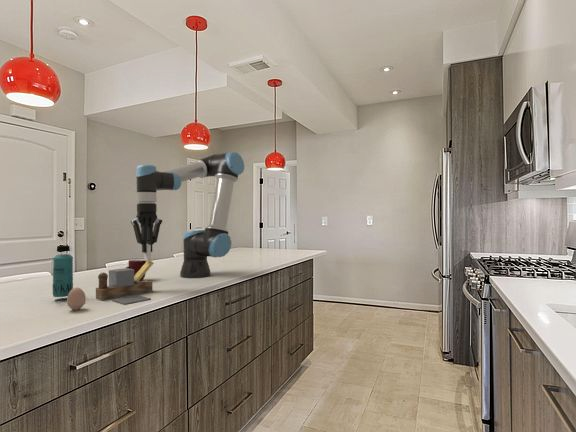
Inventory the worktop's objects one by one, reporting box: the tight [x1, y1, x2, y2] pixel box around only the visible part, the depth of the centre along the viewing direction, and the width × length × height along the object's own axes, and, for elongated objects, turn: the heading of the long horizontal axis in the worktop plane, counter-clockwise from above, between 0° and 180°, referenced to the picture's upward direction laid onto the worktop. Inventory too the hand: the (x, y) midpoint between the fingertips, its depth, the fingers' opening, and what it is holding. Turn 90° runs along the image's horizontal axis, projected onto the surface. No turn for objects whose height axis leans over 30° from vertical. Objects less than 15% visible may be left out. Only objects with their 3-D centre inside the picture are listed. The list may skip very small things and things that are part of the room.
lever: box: [134, 260, 154, 284], centre depth 145 cm, size 1×4×11 cm
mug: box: [125, 258, 147, 282], centre depth 168 cm, size 10×8×10 cm
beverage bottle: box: [52, 244, 74, 298], centre depth 133 cm, size 6×7×20 cm
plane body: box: [95, 272, 153, 301], centre depth 140 cm, size 20×5×10 cm, turn 141°
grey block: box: [108, 267, 134, 288], centre depth 139 cm, size 7×6×6 cm
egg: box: [66, 287, 87, 311], centre depth 118 cm, size 5×5×7 cm
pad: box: [111, 294, 151, 306], centre depth 131 cm, size 10×9×1 cm
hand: (147, 260), depth 147 cm, fingers closed
